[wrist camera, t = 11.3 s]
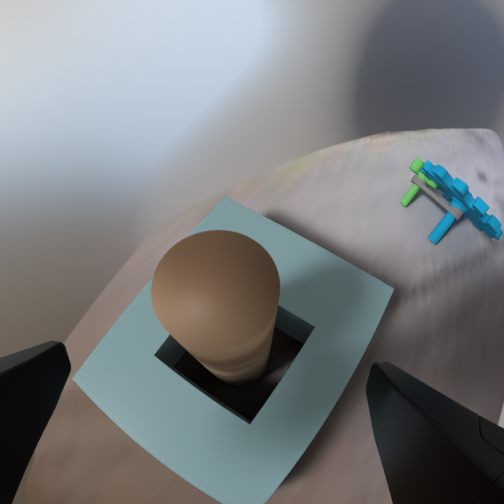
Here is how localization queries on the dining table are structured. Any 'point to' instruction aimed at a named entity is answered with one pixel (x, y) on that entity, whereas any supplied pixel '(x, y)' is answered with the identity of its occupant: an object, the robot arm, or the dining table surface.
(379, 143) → the dining table surface
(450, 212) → the gear
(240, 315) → the peg
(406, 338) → the dining table surface
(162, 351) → the housing
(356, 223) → the dining table surface
